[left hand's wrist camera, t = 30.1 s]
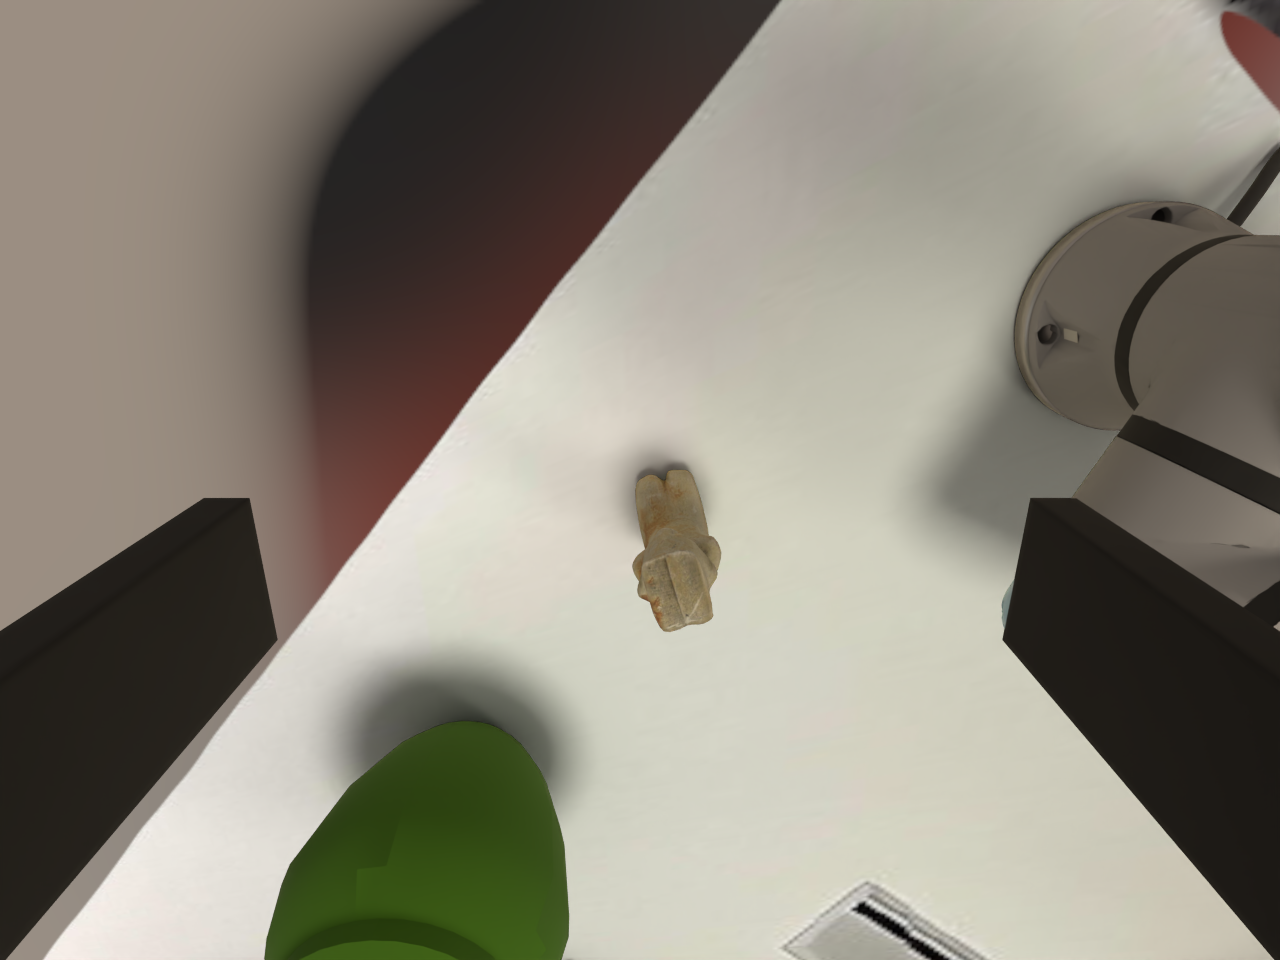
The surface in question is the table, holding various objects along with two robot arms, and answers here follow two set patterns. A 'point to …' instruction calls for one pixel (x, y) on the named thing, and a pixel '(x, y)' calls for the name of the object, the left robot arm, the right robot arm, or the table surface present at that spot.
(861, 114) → the table surface
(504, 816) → the vase
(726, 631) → the table surface
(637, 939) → the table surface
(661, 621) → the sculpture
